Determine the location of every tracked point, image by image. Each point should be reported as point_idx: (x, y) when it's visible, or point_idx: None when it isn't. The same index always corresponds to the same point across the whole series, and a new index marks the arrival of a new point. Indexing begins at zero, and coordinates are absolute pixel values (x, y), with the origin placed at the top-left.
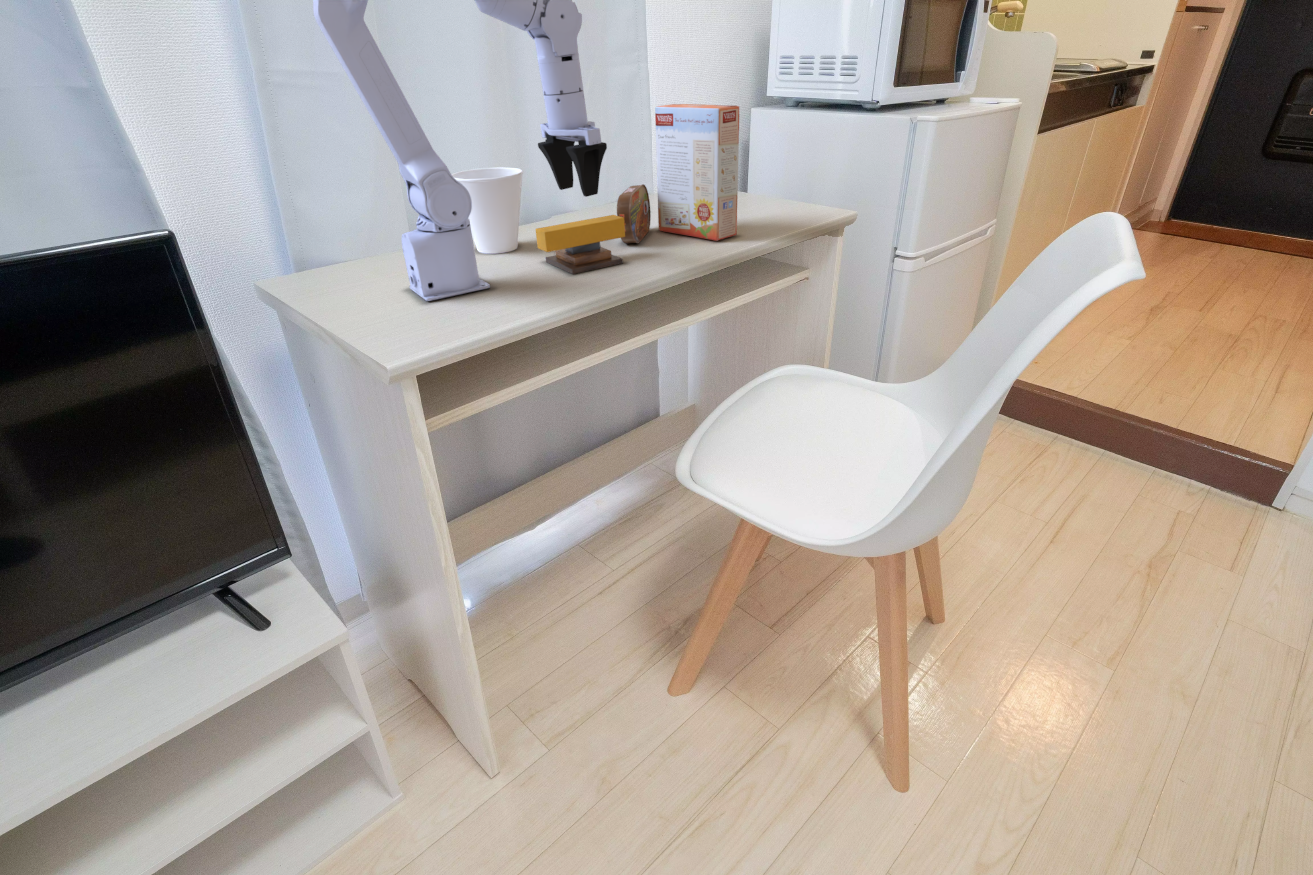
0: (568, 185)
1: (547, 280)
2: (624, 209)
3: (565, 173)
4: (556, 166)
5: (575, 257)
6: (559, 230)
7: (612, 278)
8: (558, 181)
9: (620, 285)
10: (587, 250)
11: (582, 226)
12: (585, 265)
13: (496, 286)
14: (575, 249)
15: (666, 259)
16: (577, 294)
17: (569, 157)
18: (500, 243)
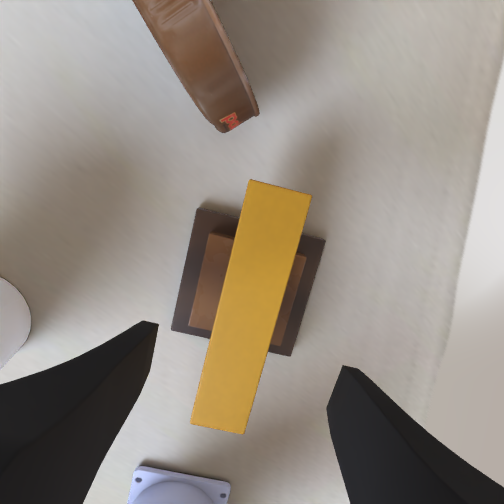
0: (151, 346)
1: (274, 399)
2: (229, 99)
3: (127, 383)
4: (99, 454)
5: (277, 342)
6: (254, 397)
7: (372, 324)
8: (135, 402)
9: (414, 345)
10: None
11: (272, 333)
12: (294, 324)
13: (225, 467)
14: None
15: (387, 153)
16: None
17: (94, 406)
18: (15, 347)
